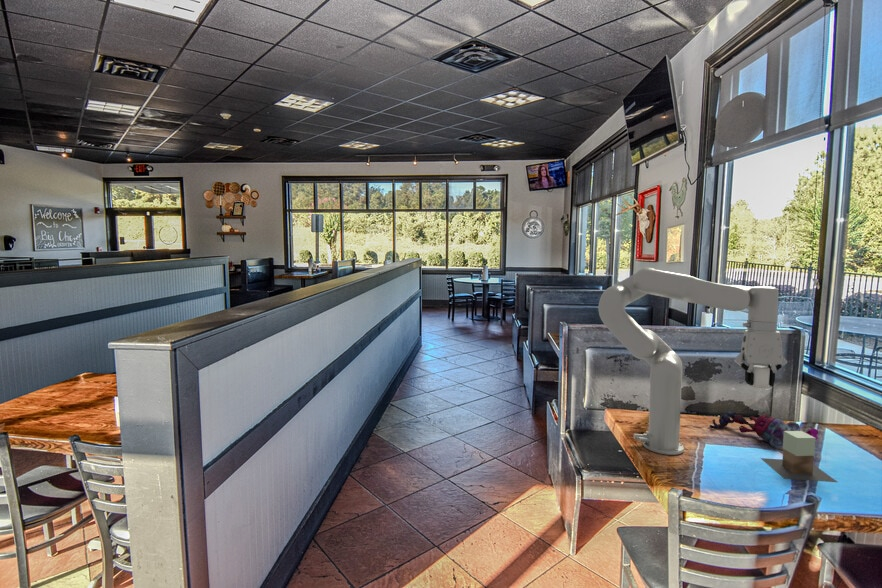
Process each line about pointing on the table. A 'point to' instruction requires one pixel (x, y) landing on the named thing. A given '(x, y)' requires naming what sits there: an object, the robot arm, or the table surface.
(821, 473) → the mat
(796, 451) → the block top
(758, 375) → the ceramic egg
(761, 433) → the toy
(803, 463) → the block bottom
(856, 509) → the table surface
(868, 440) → the table surface
